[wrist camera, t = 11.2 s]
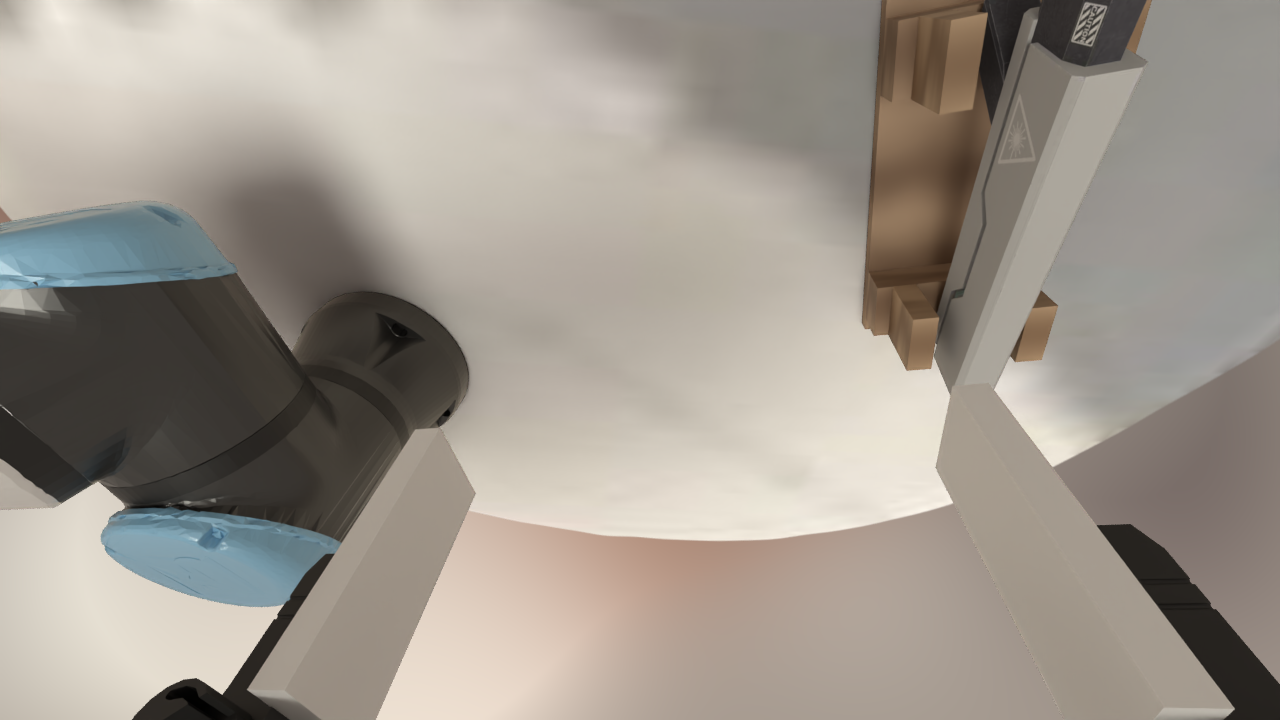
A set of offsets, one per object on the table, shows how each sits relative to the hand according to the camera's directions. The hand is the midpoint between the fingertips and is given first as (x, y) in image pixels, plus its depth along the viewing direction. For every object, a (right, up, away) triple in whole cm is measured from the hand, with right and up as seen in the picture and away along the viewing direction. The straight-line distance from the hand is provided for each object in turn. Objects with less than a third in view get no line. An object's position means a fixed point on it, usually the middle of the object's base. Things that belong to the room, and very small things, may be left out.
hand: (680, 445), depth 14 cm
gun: (+19, +13, +18) cm, 30 cm away
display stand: (+20, +15, +21) cm, 32 cm away
